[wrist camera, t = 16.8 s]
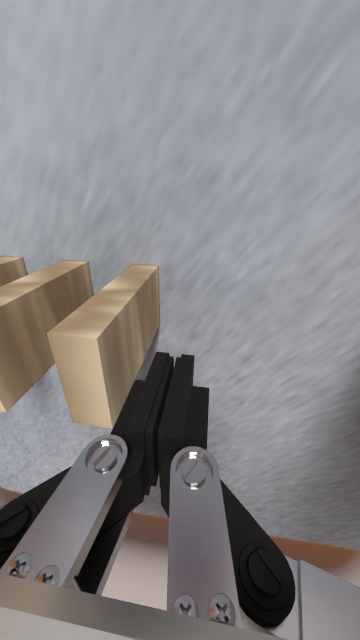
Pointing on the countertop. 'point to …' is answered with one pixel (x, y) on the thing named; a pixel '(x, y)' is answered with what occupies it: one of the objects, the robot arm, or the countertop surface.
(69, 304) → the domino
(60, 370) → the domino
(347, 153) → the countertop surface
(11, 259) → the domino
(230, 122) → the countertop surface
